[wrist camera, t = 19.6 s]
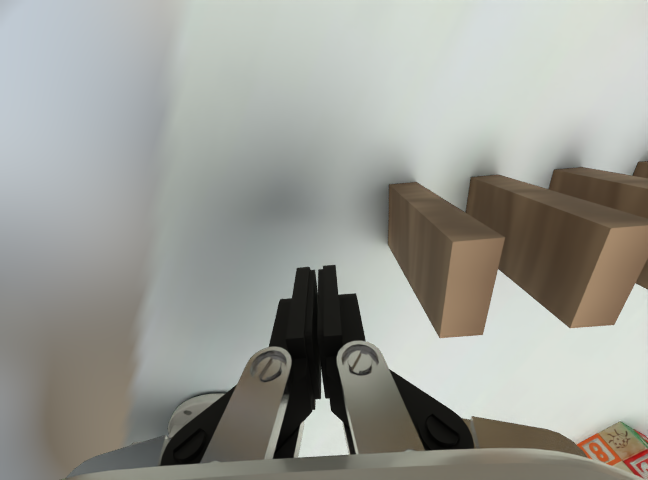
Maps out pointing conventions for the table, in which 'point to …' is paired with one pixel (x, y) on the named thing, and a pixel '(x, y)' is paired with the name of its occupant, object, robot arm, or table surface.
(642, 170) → the domino
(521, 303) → the table surface
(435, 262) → the domino
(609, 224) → the domino
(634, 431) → the stack of blocks
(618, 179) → the domino
